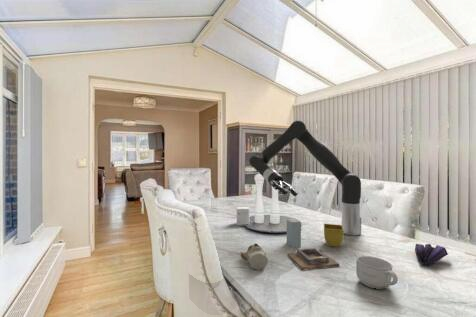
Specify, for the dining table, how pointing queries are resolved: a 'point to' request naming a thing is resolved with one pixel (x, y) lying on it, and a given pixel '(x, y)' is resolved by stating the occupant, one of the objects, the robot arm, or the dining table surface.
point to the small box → (243, 215)
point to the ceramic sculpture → (255, 257)
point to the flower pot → (333, 234)
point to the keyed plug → (293, 233)
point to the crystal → (429, 253)
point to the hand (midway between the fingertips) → (291, 194)
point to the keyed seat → (312, 259)
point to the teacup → (375, 272)
